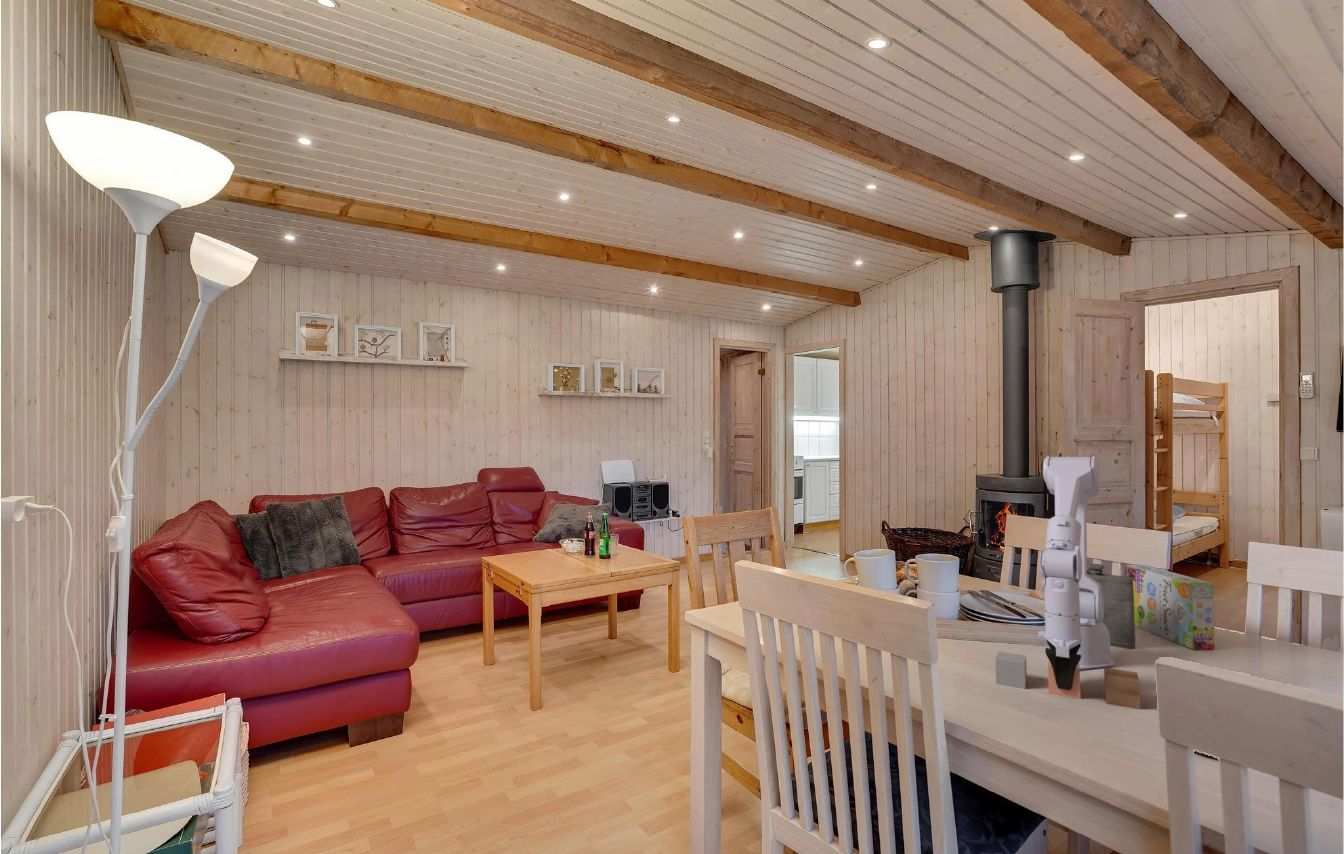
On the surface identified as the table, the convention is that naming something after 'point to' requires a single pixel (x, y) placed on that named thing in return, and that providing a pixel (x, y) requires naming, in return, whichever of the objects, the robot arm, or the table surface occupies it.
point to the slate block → (1011, 670)
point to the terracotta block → (1055, 690)
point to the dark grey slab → (1116, 606)
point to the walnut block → (1122, 688)
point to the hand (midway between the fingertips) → (1064, 683)
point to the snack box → (1173, 606)
